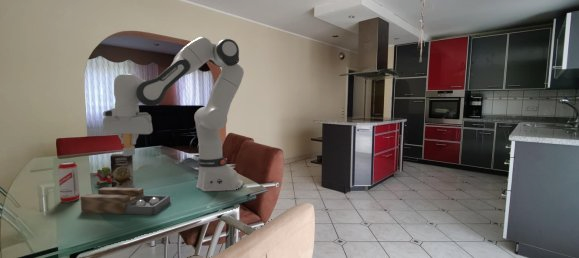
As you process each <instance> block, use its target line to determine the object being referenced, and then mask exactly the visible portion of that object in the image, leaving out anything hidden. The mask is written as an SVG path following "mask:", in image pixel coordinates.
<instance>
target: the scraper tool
mask: <svg viewBox="0 0 579 258" xmlns="http://www.w3.org/2000/svg"><path fill="white" fill-rule="evenodd" d="M132 139H133V136H132V134H124V144H123V148H122V150H123V151H122V154H123V156H130V155H133V156H134V155H136V147H135V144H130V143H131V142H130V140H132Z"/></svg>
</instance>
